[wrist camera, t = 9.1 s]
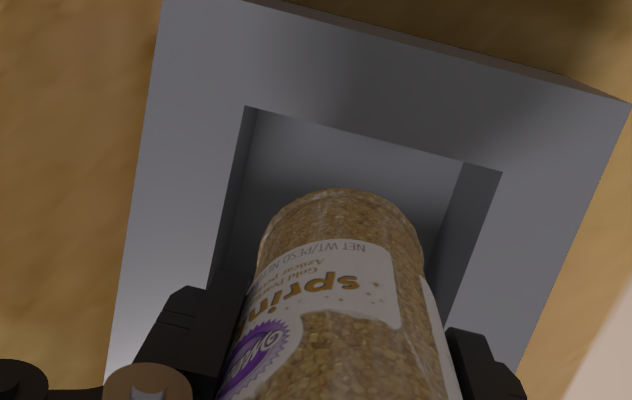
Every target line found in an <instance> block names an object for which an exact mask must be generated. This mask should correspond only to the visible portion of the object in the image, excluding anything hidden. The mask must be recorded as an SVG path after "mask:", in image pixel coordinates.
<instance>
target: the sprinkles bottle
mask: <svg viewBox="0 0 632 400" xmlns="http://www.w3.org/2000/svg"><path fill="white" fill-rule="evenodd" d="M423 266H424V256H423V251H422V247H421V245H420V243H419V240H418V237H417V233H416V230H415V228H414V227H413V225H412V224H411V223H410V222H409V221H408V219H407V218H406V216H405V215H404V214H403V213H402V212H401V211H400V210H399V208H398V207H397V206H395V205H394V204H393V203H392V202H390V201H388V200H386V199H384V198H382V197H381V196H378V195H376V194H373V193H371V192H368V191H364V190H356V189H350V188H342V187H341V188H325V189H321V190H317V191H314V192H312V193H309V194H306V195H305V196H304V197H302V198H297V199H295V200H294V201H293V202H292V203H290V204H288V205H286V206H285V207H283V208H282V209H281V210H280V211H279V213H278V214H276V215H275V216H274V217H273V218H272V220H271V221H270V223H269V225H268V227H267V229H266V230H265V232H264V234H263V237H262V240H261V243H260V246H259V252H258V259H257V269H256V273H255V277H254V281H253V284H252V285H251V287H250V289H249V290H248V292H247V294H246V298H245V301H244V304H243V307H242V310H241V314H240V317H239V320H238V323H237V327H236V330H235V333H234V336H233V339H232V342H231V346H230V349H229V352H228V355H227V358H226V361H225V365H224V368H223V371H222V374H221V377H220V380H219V384H218V387H217V390H216V393H215V396H214V399H213V400H463V397H462V394H461V390H460V387H459V383H458V380H457V376H456V373H455V369H454V366H453V362H452V358H451V355H450V351H449V348H448V344H447V341H446V337H445V334H444V330H443V327H442V323H441V319H440V316H439V312H438V309H437V306H436V302H435V299H434V296H433V294H432V292H431V289H430V287H429V285H428V284H427V282H426V279H425V275H424V272H423Z"/></svg>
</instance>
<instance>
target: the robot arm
mask: <svg viewBox="0 0 632 400" xmlns="http://www.w3.org/2000/svg"><path fill="white" fill-rule="evenodd" d="M249 281H250V277H249V276H245V275H241V274H237V273H233V272H229V271H225V270H220V269H217V270H216V272H215V275H214V277H213V279H212V281H211V284H210V286H209V288H208V290H205V289H201V288H197V287H193V286H189V285H186V286H184V287H183V288H181V289H179V290H178V291H176V292H174V293H173V294H171V295H170V296H169V298H168V300H167V302H166V303H165V305H164V307H163V309H162V312H160V314H159V316H158V318H157V319H156V322H155V324H154V325H153V327H152V328H151V330H150V332H149V334H148V335H147V337H146V339H145V341H144V342H143V344H142V346H141V348H140V350H139V351H138V353H137V355H136V357H135V358H134V360H133V362H132V364H130V365H126V366H124V367H121V368H119V369H117V370H116V371H114V372H113V373H112V374H111V375H110V376H109V377H108V378H107V380H106V381H105V383H104V385H103V386H100V387H96V388H91V389H81V390H48V388H49V386H48V380H47V377H46V376H45V374H44V373H43V372H42V371H41V370H40V369H39V368H37V367H36V366H34V365H32V364H30V363H27V362H24V361H20V360H14V359H0V400H213V399H214V396H215V393H216V390H217V387H218V384H219V380H220V377H221V374H222V371H223V368H224V365H225V361H226V358H227V355H228V352H229V349H230V346H231V342H232V339H233V336H234V333H235V330H236V327H237V323H238V320H239V317H240V314H241V310H242V307H243V304H244V301H245V298H246V294H247V290H248V285H249ZM444 334H445V337H446V341H447V344H448V348H449V351H450V355H451V358H452V362H453V366H454V369H455V373H456V376H457V380H458V383H459V387H460V390H461V394H462V397H463V400H527V396H526V394H525V391H524V389H523V387H522V385H521V382H520V380H519V379H518V378H517V377H516V376H515V375H514V374H513V373H512V371H511V370H510V369H509V368H508V367H507V366H506V365H505V364H504V363H501V362H497V361H495V360H494V357H493V355H492V352H491V350H490V347H489V345H488V342H487V340H486V337H485V336H484V335H482V334H479V333H474V332H470V331H466V330H462V329H458V328H454V327H449V328H448V329H447V330H446V331H445V333H444Z"/></svg>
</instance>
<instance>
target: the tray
mask: <svg viewBox="0 0 632 400" xmlns="http://www.w3.org/2000/svg"><path fill="white" fill-rule="evenodd" d="M631 108H632V104H631V103H628V102H626V101H624V100H621V99H619V98H616V97H614V96H612V95H609V94H607V93H604V92H602V91H600V90H597V89H595V88H592V87H590V86H588V85H585V84H583V83H580V82H578V81H576V80H573V79H571V78H569V77H566V76H563V75H559V74H556V73H552V72H548V71H544V70H541V69H537V68H533V67H529V66H526V65H522V64H518V63H514V62H511V61H507V60H503V59H499V58H496V57H492V56H488V55H484V54H481V53H477V52H473V51H469V50H466V49H462V48H458V47H454V46H451V45H447V44H443V43H439V42H436V41H432V40H428V39H424V38H421V37H417V36H413V35H409V34H406V33H402V32H398V31H394V30H391V29H387V28H383V27H379V26H376V25H372V24H368V23H364V22H361V21H357V20H353V19H349V18H346V17H342V16H338V15H334V14H331V13H327V12H323V11H319V10H316V9H312V8H308V7H304V6H301V5H297V4H293V3H289V2H286V1H282V0H162V6H161V13H160V19H159V26H158V32H157V39H156V45H155V52H154V58H153V65H152V71H151V78H150V84H149V91H148V97H147V104H146V110H145V117H144V123H143V130H142V136H141V143H140V149H139V156H138V162H137V169H136V175H135V182H134V188H133V195H132V201H131V208H130V214H129V221H128V227H127V234H126V240H125V247H124V253H123V260H122V266H121V273H120V279H119V286H118V292H117V299H116V305H115V312H114V318H113V325H112V331H111V338H110V344H109V351H108V357H107V364H106V370H105V377H104V383H105V381H106V380H107V378H108V377H109V376H110V375H111V374H112V373H113V372H114V371H116V370H117V369H119V368H121V367H124V366H126V365H130V364H132V362H133V360H134V358H135V357H136V355H137V353H138V351H139V350H140V348H141V346H142V344H143V342H144V341H145V339H146V337H147V335H148V334H149V332H150V330H151V328H152V327H153V325H154V324H155V322H156V319H157V318H158V316H159V314H160V312H162V309H163V307H164V305H165V303H166V302H167V300H168V298H169V296H170V295H171V294H173V293H174V292H176V291H178V290H179V289H181V288H183V287H184V286H186V285H189V286H193V287H197V288H201V289H205V290H208V288H209V286H210V284H211V281H212V279H213V277H214V275H215V272H216V270H217V269H220V270H225V271H229V272H233V273H237V274H241V275H245V276H249V277H250V281H249V285H248V290H249V289H250V287H251V285H252V284H253V281H254V277H255V273H256V269H257V259H258V252H259V246H260V243H261V240H262V237H263V234H264V232H265V230H266V229H267V227H268V225H269V223H270V221H271V220H272V218H273V217H274V216H275V215H276V214H278V213H279V211H280V210H281V209H282V208H283V207H285V206H286V205H288V204H290V203H292V202H293V201H294V200H295V199H297V198H302V197H304V196H305V195H306V194H309V193H312V192H314V191H317V190H321V189H325V188H341V187H342V188H350V189H356V190H364V191H368V192H371V193H373V194H376V195H378V196H381V197H382V198H384V199H386V200H388V201H390V202H392V203H393V204H394V205H395V206H397V207H398V208H399V210H400V211H401V212H402V213H403V214H404V215H405V216H406V218H407V219H408V221H409V222H410V223H411V224H412V225H413V227H414V228H415V230H416V233H417V237H418V240H419V243H420V245H421V247H422V251H423V256H424V266H423V272H424V275H425V279H426V282H427V284H428V285H429V287H430V289H431V292H432V294H433V296H434V299H435V302H436V306H437V309H438V312H439V316H440V319H441V323H442V327H443V330H444V333H445V331H446V330H447V329H448V328H449V327H454V328H458V329H462V330H466V331H470V332H474V333H479V334H482V335H484V336H485V337H486V340H487V342H488V345H489V347H490V350H491V352H492V355H493V357H494V360H495V361H497V362H501V363H504V364H505V365H506V366H507V367H508V368H509V369H510V370H511V371H512V373H513V374H515V372H516V369H517V367H518V365H519V363H520V360H521V358H522V356H523V354H524V351H525V349H526V347H527V344H528V342H529V340H530V338H531V335H532V333H533V331H534V329H535V326H536V324H537V322H538V319H539V317H540V315H541V313H542V310H543V308H544V306H545V304H546V301H547V299H548V297H549V294H550V292H551V290H552V288H553V285H554V283H555V281H556V279H557V276H558V274H559V272H560V270H561V267H562V265H563V263H564V260H565V258H566V256H567V254H568V251H569V249H570V247H571V245H572V242H573V240H574V238H575V235H576V233H577V231H578V229H579V226H580V224H581V222H582V220H583V217H584V215H585V213H586V210H587V208H588V206H589V204H590V201H591V199H592V197H593V195H594V192H595V190H596V188H597V185H598V183H599V181H600V179H601V176H602V174H603V172H604V170H605V167H606V165H607V163H608V160H609V158H610V156H611V154H612V151H613V149H614V147H615V145H616V142H617V140H618V138H619V136H620V133H621V131H622V129H623V126H624V124H625V122H626V120H627V117H628V115H629V113H630V111H631ZM248 290H247V292H248ZM104 383H103V385H104Z"/></svg>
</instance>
